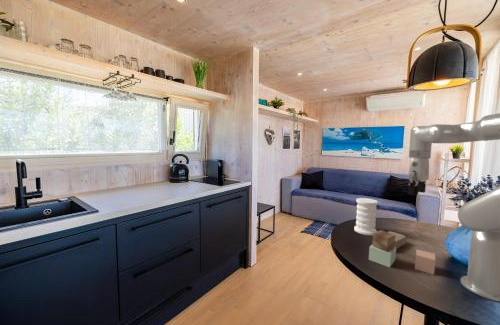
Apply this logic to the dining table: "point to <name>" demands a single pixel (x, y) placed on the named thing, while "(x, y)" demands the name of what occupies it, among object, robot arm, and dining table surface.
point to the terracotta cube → (425, 261)
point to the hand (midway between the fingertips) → (416, 193)
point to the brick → (399, 239)
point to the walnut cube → (383, 240)
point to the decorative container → (366, 216)
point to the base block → (382, 256)
